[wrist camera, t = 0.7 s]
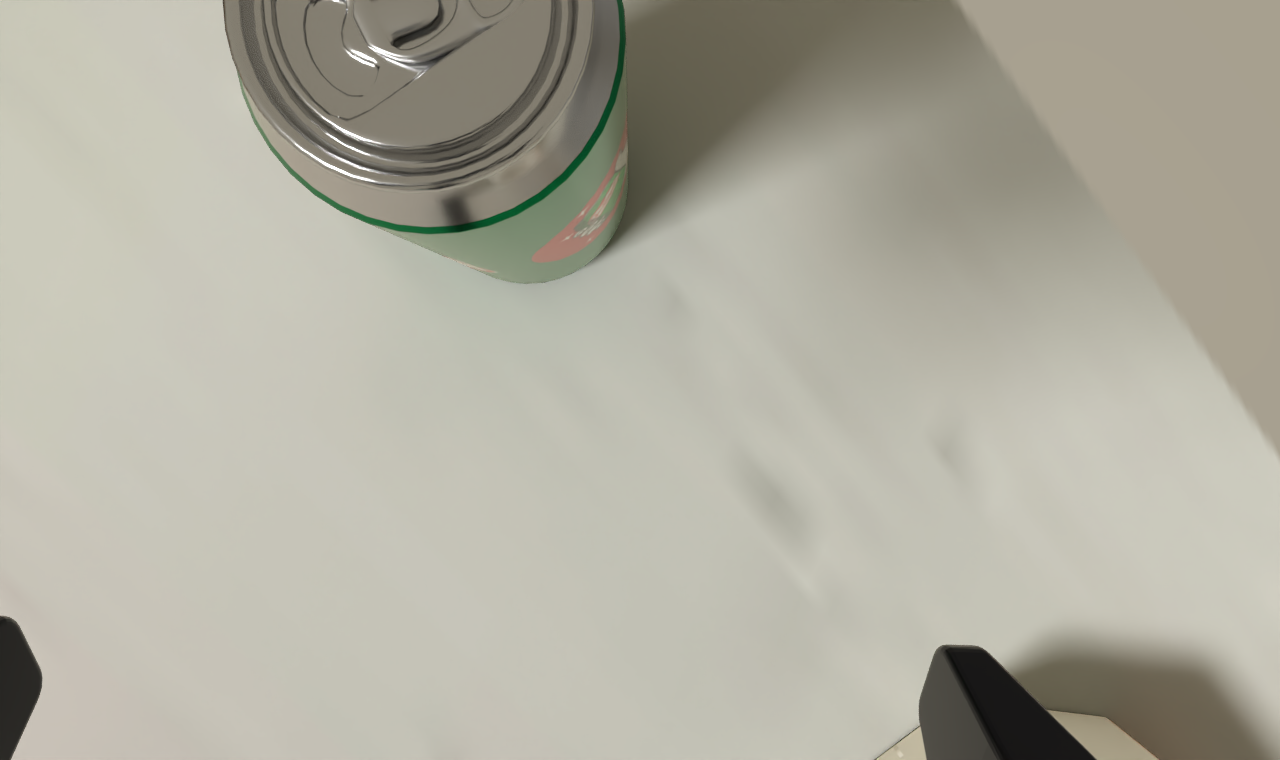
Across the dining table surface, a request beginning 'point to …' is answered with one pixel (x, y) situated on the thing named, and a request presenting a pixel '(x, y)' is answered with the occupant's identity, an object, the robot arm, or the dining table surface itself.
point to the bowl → (1097, 734)
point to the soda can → (449, 120)
